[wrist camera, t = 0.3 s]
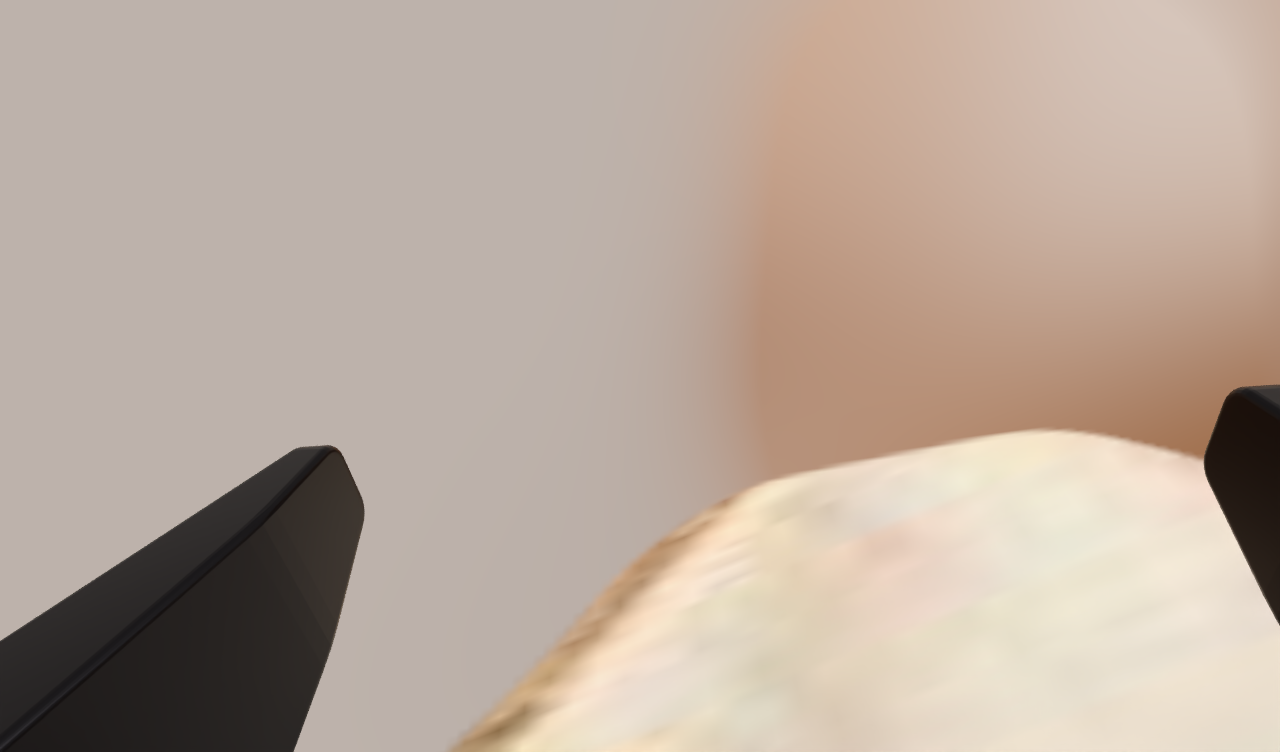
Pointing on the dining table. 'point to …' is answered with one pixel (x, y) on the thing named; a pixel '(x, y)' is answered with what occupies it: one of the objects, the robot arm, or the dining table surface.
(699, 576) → the dining table surface
